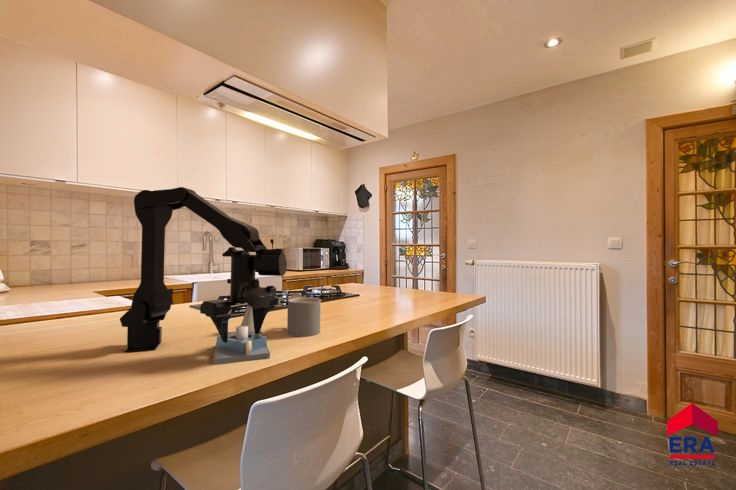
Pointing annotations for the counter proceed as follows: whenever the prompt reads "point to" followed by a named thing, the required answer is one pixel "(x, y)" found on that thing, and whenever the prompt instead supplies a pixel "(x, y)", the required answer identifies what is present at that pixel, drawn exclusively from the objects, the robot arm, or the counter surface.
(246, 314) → the flask
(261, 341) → the flange plate
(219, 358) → the post board
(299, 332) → the coffee mug
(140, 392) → the counter surface
